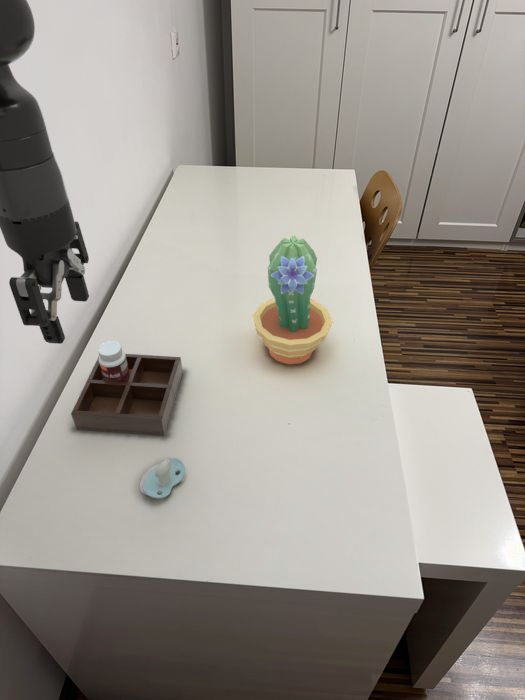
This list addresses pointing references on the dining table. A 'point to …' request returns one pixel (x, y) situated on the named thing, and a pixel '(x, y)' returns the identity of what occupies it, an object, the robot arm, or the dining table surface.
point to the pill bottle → (113, 362)
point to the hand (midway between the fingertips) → (69, 319)
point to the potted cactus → (292, 304)
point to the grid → (130, 397)
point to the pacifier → (162, 478)
